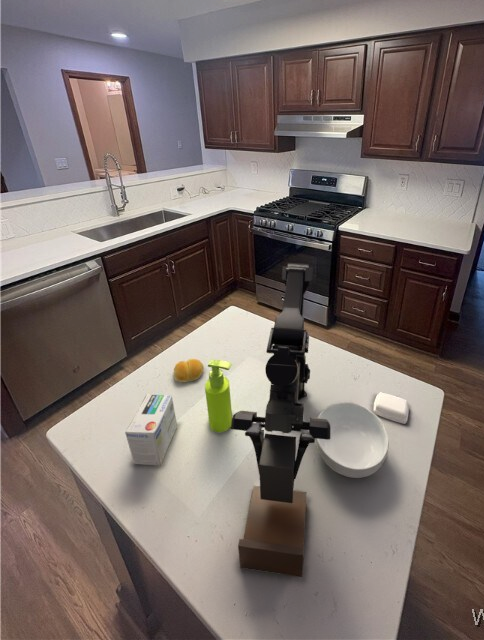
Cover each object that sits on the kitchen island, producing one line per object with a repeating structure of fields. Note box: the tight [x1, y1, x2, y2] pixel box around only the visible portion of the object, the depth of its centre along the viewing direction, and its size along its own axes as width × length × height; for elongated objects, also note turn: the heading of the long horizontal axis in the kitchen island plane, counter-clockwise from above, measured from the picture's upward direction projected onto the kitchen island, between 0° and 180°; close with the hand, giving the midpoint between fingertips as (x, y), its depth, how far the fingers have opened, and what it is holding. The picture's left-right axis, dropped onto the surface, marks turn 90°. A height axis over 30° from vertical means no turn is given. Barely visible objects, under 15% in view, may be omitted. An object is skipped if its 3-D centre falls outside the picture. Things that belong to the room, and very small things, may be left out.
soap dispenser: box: [204, 359, 233, 433], centre depth 78 cm, size 6×7×20 cm
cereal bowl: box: [315, 401, 390, 479], centre depth 73 cm, size 17×17×7 cm
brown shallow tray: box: [237, 485, 307, 578], centre depth 59 cm, size 12×11×7 cm
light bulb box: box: [124, 394, 178, 466], centre depth 74 cm, size 11×7×11 cm, turn 178°
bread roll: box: [173, 358, 205, 383], centre depth 97 cm, size 8×9×4 cm
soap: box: [372, 391, 410, 425], centre depth 85 cm, size 9×7×3 cm
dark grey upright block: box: [258, 433, 297, 503], centre depth 59 cm, size 6×6×10 cm
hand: (277, 476), depth 58 cm, fingers closed on dark grey upright block, 6 cm apart
